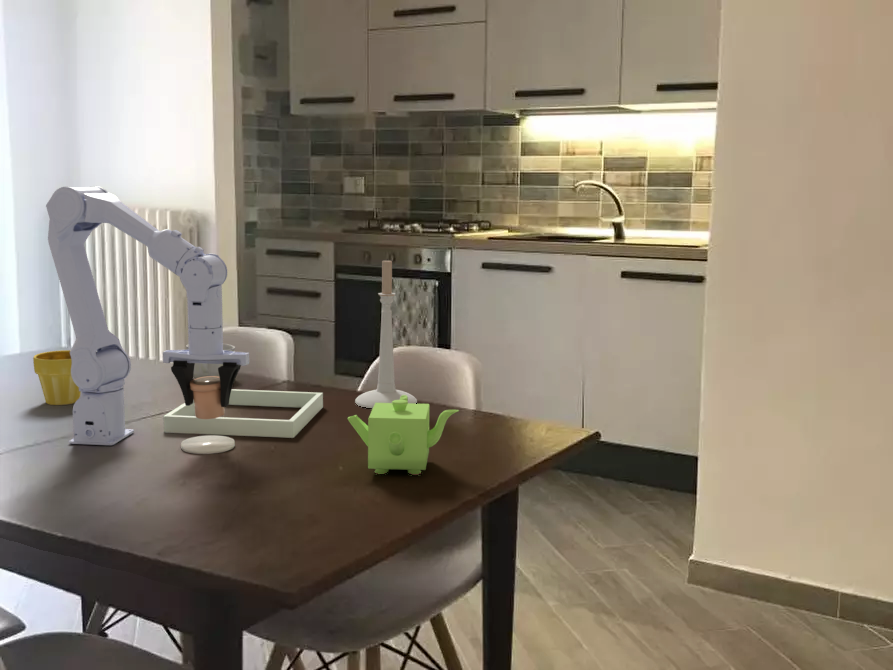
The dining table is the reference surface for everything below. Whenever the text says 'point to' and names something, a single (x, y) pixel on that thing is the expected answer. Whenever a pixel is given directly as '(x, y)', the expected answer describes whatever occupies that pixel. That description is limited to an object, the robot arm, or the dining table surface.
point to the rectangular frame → (188, 423)
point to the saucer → (207, 444)
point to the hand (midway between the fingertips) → (207, 405)
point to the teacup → (209, 365)
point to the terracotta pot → (207, 397)
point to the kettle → (399, 435)
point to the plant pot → (56, 377)
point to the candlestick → (385, 351)
